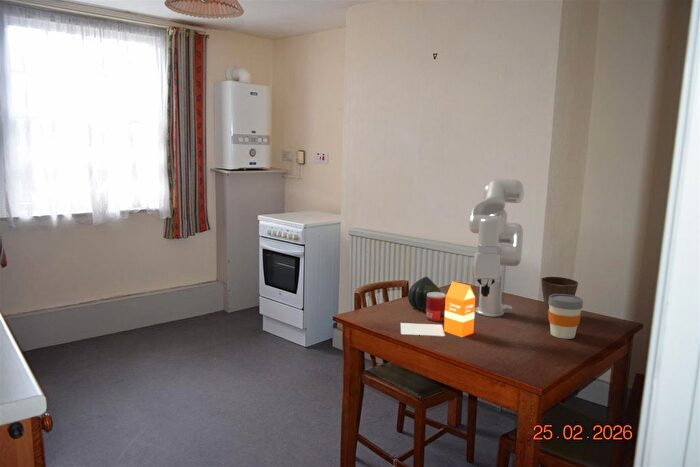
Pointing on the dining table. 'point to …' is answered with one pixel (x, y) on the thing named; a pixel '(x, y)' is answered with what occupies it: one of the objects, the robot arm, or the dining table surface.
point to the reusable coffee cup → (564, 315)
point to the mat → (422, 329)
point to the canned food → (435, 306)
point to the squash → (421, 292)
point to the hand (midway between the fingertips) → (484, 295)
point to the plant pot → (557, 288)
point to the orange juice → (459, 310)
